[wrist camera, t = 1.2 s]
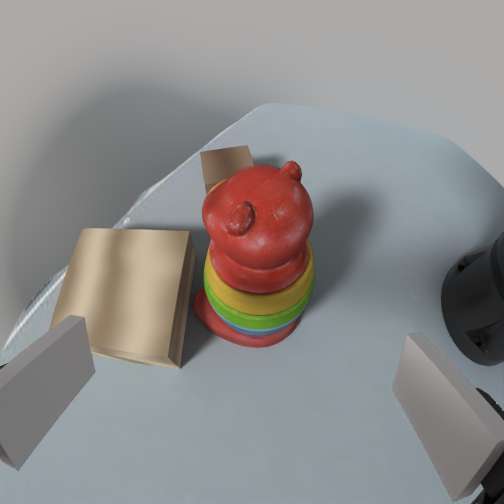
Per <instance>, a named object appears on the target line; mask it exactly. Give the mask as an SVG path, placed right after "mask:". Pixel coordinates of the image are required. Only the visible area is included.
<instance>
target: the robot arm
mask: <svg viewBox="0 0 504 504" xmlns="http://www.w3.org/2000/svg"><path fill="white" fill-rule="evenodd" d="M441 302H442V311H443V316H444V320H445V323H446V326H447V329H448V331H449V334H450V336H451V337H452V339H453V341H454V343H455V344H456V346H457V347H458V348H459V349H460V351H461V352H462V353H463V354H464V355H465V356H466V357H468V358H469V359H470V360H472V361H474V362H476V363H478V364H481V365H485V366H492V365H497V364H499V363H501V362H503V361H504V232H503V233H502V234H501V235H500V237H499V238H498V239H497V240H496V241H495V242H494V243H493V244H491V245H489V246H486V247H484V248H482V249H480V250H477V251H475V252H473V253H471V254H468V255H466V256H465V257H463V258H462V259H460V260H459V261H458V262H457V263H456V264H455V266H454V267H453V268H452V269H451V270H450V271H449V272H448V274H447V276H446V278H445V280H444V283H443V287H442V296H441ZM94 373H95V367H94V363H93V359H92V354H91V349H90V344H89V339H88V334H87V328H86V322H85V317H81V316H75V315H69V316H68V317H67V318H65V319H64V320H63V321H61V322H60V323H59V324H57V325H56V326H55V327H53V328H52V329H51V330H50V331H48V332H47V333H46V334H44V335H43V336H42V337H40V338H39V339H38V340H37V341H35V342H34V343H33V344H31V345H30V346H29V347H28V348H26V349H25V350H24V351H23V352H21V353H20V354H19V355H18V356H16V357H15V358H14V359H13V360H11V361H10V362H9V363H7V364H4V365H2V366H0V458H1V460H2V461H3V462H4V463H5V464H7V465H9V466H10V467H12V468H14V469H16V470H17V471H19V469H20V468H21V467H22V465H23V464H24V463H25V461H26V460H27V459H28V457H29V456H30V454H31V453H32V452H33V450H34V449H35V448H36V446H37V445H38V444H39V443H40V441H41V440H42V439H43V437H44V436H45V435H46V433H47V432H48V431H49V429H50V428H51V427H52V426H53V424H54V423H55V422H56V420H57V419H58V418H59V417H60V415H61V414H62V413H63V412H64V410H65V409H66V408H67V407H68V405H69V404H70V403H71V402H72V400H73V399H74V398H75V397H76V395H77V394H78V393H79V392H80V390H81V389H82V388H83V387H84V385H85V384H86V383H87V382H88V381H89V379H90V378H91V377H92V376H93V374H94ZM392 390H393V392H394V394H395V396H396V397H397V399H398V401H399V403H400V404H401V406H402V408H403V410H404V411H405V413H406V415H407V417H408V418H409V420H410V422H411V424H412V426H413V427H414V429H415V431H416V433H417V435H418V436H419V438H420V440H421V442H422V444H423V445H424V447H425V449H426V451H427V453H428V455H429V457H430V458H431V460H432V462H433V464H434V466H435V468H436V470H437V472H438V474H439V476H440V478H441V480H442V481H443V483H444V485H445V487H446V489H447V491H448V493H449V495H450V497H451V499H452V501H453V502H454V501H457V500H459V499H462V498H464V497H467V496H469V495H471V494H472V493H473V492H474V491H475V489H476V488H477V487H478V486H479V484H480V483H481V484H482V486H483V488H484V489H483V491H482V492H481V493H480V494H479V495H478V496H477V497H476V499H475V500H474V501H473V502H472V503H471V504H476V503H477V504H504V411H502V409H501V407H500V406H499V405H498V404H496V402H495V401H494V400H493V399H492V398H491V396H490V395H489V394H487V393H486V392H484V391H482V390H481V389H479V388H475V387H474V386H473V385H472V384H471V383H470V382H469V381H468V380H467V379H466V378H465V377H464V376H463V375H462V373H461V372H460V371H459V370H458V369H457V368H456V367H455V366H454V365H453V364H452V363H451V362H450V361H449V360H448V359H447V358H446V357H445V356H444V355H443V353H442V352H441V351H440V350H439V349H438V348H437V347H436V346H435V345H434V344H433V343H432V342H431V341H430V340H429V339H428V338H427V337H426V336H425V335H424V334H423V333H415V334H407V336H406V340H405V344H404V348H403V352H402V355H401V359H400V362H399V366H398V369H397V373H396V376H395V379H394V382H393V386H392Z"/></svg>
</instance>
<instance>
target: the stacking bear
mask: <svg viewBox="0 0 504 504" xmlns="http://www.w3.org/2000/svg"><path fill="white" fill-rule="evenodd" d="M301 177H302V171H301V168H300V166H299V165H298V164H297V163H296V162H294V161H288V162H287V163H286V164H285V165H284V166H283V168H282V169H279V168H277V167H273V166H269V165H254V166H249V167H246V168H244V169H241V170H239V171H238V172H236V173H235V174H233V175H232V176H231V177H230V178H228V179H226V180H223V181H221V182H219V183H218V184H216V185H215V186H214V187H213V188H212V189H211V190H210V191H209V192H208V194H207V196H206V198H205V200H204V203H203V207H202V219H203V222H204V225H205V228H206V230H207V232H208V234H209V236H210V237H211V241H210V245H209V248H208V252H207V257H206V261H205V266H204V287H202V288H201V289H200V290H199V292H197V293H196V294H195V296H194V303H193V311H194V313H195V315H196V316H197V318H198V319H199V320H200V321H201V322H202V323H203V324H204V325H205V326H206V327H207V328H208V329H209V330H211V331H212V332H213V333H215V334H216V335H218V336H220V337H221V338H223V339H225V340H227V341H230V342H232V343H235V344H238V345H242V346H247V347H256V348H260V347H267V346H271V345H274V344H276V343H279V342H280V341H282V340H283V339H285V338H286V337H287V336H288V335H289V334H290V333H291V332H292V331H293V330H294V328H295V327H296V325H297V323H298V320H299V318H300V314H301V313H302V312H303V310H304V309H305V307H306V306H307V304H308V302H309V299H310V297H311V294H312V290H313V284H314V259H313V252H312V248H311V245H310V242H309V240H308V236H309V234H310V231H311V228H312V225H313V215H314V214H313V207H312V202H311V199H310V197H309V194H308V193H307V191H306V189H305V188H304V186H303V185H302V184H301V182H300V181H301Z"/></svg>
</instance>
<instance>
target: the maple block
mask: <svg viewBox="0 0 504 504" xmlns="http://www.w3.org/2000/svg"><path fill="white" fill-rule="evenodd" d="M195 263H196V253H195V250H194V246H193V242H192V239H191V235H190V231H174V230H141V229H98V228H83V230H82V232H81V235H80V237H79V240H78V242H77V245H76V247H75V250H74V253H73V255H72V258H71V261H70V264H69V267H68V269H67V272H66V275H65V278H64V281H63V284H62V288H61V291H60V294H59V297H58V301H57V304H56V307H55V311H54V314H53V318H52V322H51V326H50V329H49V331H50V330H51V329H52V328H53V327H55V326H56V325H57V324H59V323H60V322H61V321H63V320H64V319H65V318H67V317H68V316H69V315H75V316H81V317H85V322H86V328H87V334H88V339H89V344H90V349H91V354H92V355H97V356H102V357H107V358H112V359H118V360H123V361H129V362H135V363H141V364H148V365H155V366H162V367H170V368H178V369H180V367H181V359H182V351H183V343H184V335H185V328H186V321H187V314H188V307H189V300H190V294H191V287H192V281H193V275H194V269H195Z"/></svg>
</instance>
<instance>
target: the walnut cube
mask: <svg viewBox="0 0 504 504" xmlns="http://www.w3.org/2000/svg"><path fill="white" fill-rule="evenodd" d="M200 155H201V162H202V168H203V175H204V182H205V188H206V194H208V192H209V191H210V190H211V189H212V188H213V187H214V186H215V185H216V184H218V183H219V182H221V181H223V180H226V179H228V178H230V177H231V176H232V175H233V174H235V173H236V172H238V171H239V170H241V169H244V168H246V167H249V166H254V163H253V160H252V157H251V154H250V151H249V148H248V145H246V146H238V147H231V148H224V149H217V150H211V151H205V152H200Z"/></svg>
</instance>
